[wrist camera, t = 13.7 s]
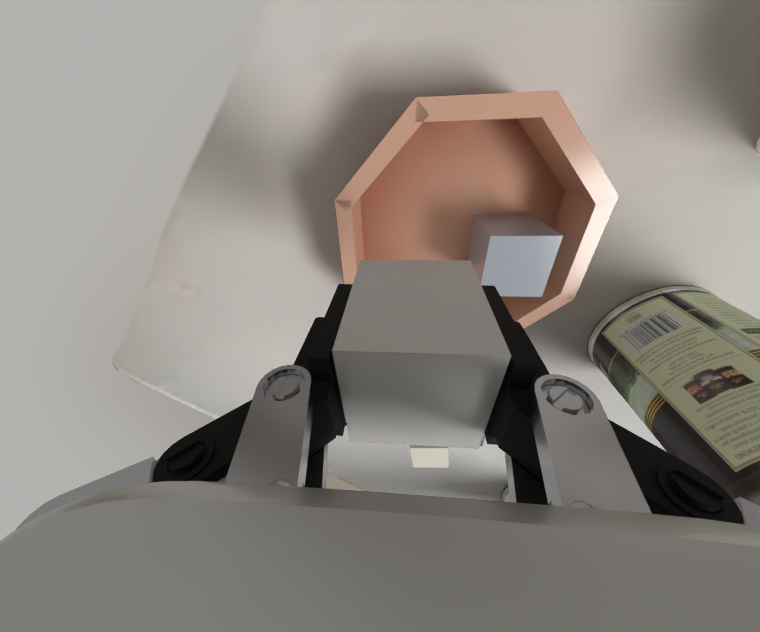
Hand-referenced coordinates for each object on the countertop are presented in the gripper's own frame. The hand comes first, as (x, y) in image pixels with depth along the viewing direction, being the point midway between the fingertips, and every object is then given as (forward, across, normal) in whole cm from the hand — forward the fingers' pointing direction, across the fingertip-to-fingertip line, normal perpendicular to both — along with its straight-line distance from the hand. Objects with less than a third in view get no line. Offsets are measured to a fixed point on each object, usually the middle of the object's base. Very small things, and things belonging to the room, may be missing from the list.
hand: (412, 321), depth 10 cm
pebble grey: (+1, 0, 0) cm, 1 cm away
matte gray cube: (+12, -7, +1) cm, 14 cm away
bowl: (+13, -3, +1) cm, 14 cm away
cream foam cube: (+12, -3, +24) cm, 27 cm away
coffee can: (+13, -22, +10) cm, 28 cm away
